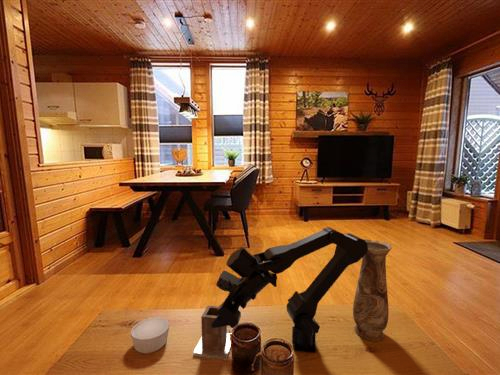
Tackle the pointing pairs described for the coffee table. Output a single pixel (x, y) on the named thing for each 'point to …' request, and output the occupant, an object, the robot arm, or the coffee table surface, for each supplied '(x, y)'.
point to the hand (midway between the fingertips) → (216, 317)
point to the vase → (372, 293)
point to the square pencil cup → (212, 330)
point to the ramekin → (150, 334)
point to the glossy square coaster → (213, 353)
